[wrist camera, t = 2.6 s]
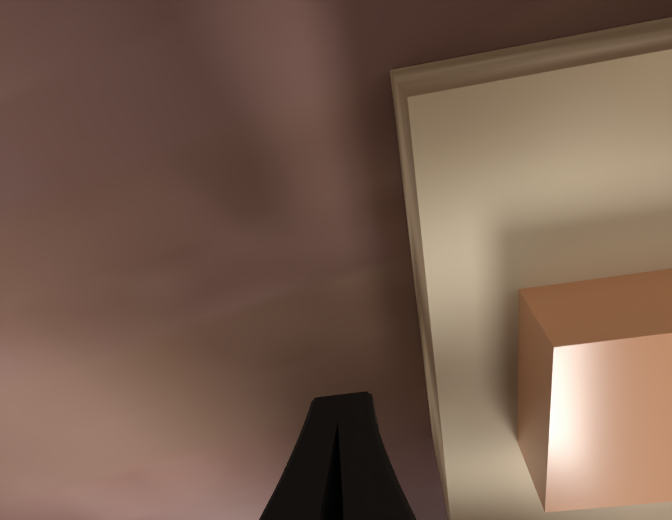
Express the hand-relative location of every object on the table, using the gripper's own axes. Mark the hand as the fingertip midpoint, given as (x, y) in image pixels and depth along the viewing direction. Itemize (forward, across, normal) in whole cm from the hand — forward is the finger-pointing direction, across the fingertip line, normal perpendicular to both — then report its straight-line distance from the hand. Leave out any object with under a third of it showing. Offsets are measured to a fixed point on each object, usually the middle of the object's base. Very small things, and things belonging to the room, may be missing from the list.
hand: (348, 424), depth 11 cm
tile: (+1, -7, 0) cm, 7 cm away
